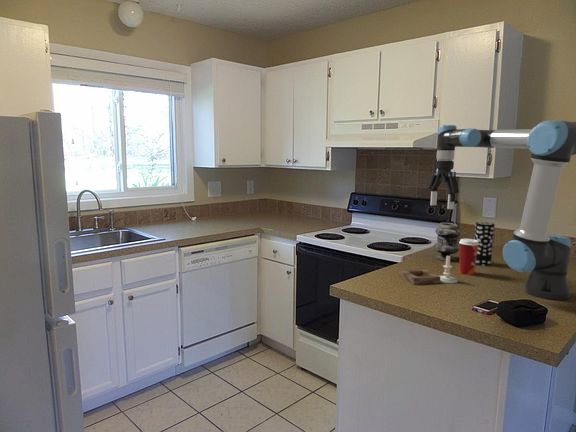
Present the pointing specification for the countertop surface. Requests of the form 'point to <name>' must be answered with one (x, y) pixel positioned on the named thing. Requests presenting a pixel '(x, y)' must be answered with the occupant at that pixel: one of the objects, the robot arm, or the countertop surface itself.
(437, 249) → the apothecary jar
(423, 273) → the holder
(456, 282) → the coaster
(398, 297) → the countertop surface
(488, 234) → the spotted tube
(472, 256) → the coffee cup
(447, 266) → the candle
